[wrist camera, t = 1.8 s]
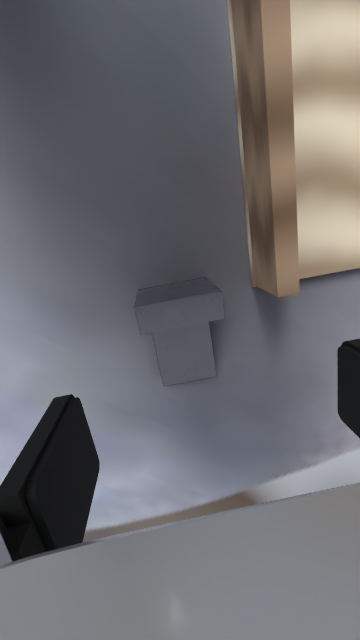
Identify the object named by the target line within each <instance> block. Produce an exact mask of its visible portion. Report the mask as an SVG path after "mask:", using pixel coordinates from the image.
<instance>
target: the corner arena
mask: <svg viewBox="0 0 360 640" xmlns="http://www.w3.org/2000/svg"><path fill="white" fill-rule="evenodd" d="M227 6H228V18H229V29H230V41H231V52H232V64H233V75H234V87H235V98H236V110H237V121H238V133H239V144H240V156H241V167H242V179H243V191H244V202H245V214H246V225H247V237H248V248H249V260H250V271H251V283H252V286H253V287H259V288H261V289H263V290H265V291H266V292H268V293H270V294H272V295H274V296H276V297H278V298H279V297H284V296H290V295H295V294H300V289H299V279H302V278H308V277H313V276H319V275H324V274H329V273H335V272H340V271H345V270H351V269H356V268H360V0H227Z"/></svg>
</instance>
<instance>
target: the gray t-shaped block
mask: <svg viewBox="0 0 360 640" xmlns="http://www.w3.org/2000/svg"><path fill="white" fill-rule="evenodd" d="M134 308H135V312H136V317H137V321H138V325H139V330H140V334H141V335H142V334H147V333H152V334H153V339H154V344H155V349H156V353H157V358H158V363H159V368H160V372H161V377H162V382H163V386H168V385H173V384H178V383H183V382H188V381H193V380H198V379H204V378H209V377H214V376H216V369H215V362H214V355H213V347H212V340H211V333H210V326H209V322H210V321H216V320H221V319H225V314H224V306H223V298H222V291H221V290H220V289H219V288H218V287H216V286H215V285H214V284H213V283H212V282H211V281H210V280H209V279H207V278H206V277H204V278H198V279H193V280H187V281H182V282H176V283H171V284H166V285H160V286H155V287H149V288H144V289H138V293H137V298H136V302H135V307H134Z"/></svg>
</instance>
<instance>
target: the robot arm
mask: <svg viewBox="0 0 360 640" xmlns="http://www.w3.org/2000/svg"><path fill="white" fill-rule="evenodd" d="M338 414H339V416H340V418H341V420H342V421H343V422H344V423H345V424H346V425H347V426H348V427H349V428H350V429H351V430H352V431H353V432H354V433H355V434H356V435H357V436H358V437H359V438H360V339H355V340H350V341H345V342H343V343H342V345H341V346H340V347H339V348H338ZM98 473H99V458H98V455H97V452H96V449H95V445H94V442H93V439H92V436H91V433H90V429H89V426H88V423H87V420H86V417H85V413H84V410H83V407H82V404H81V401H80V399H79V398H78V397H77V398H75V397H74V396H73V395H72V394H71V395H66V396H61V397H56V398H54V399H53V401H52V402H51V404H50V405H49V407H48V409H47V410H46V412H45V414H44V415H43V417H42V419H41V420H40V422H39V423H38V425H37V427H36V428H35V430H34V432H33V433H32V435H31V437H30V438H29V440H28V441H27V443H26V445H25V446H24V448H23V450H22V451H21V453H20V455H19V456H18V458H17V459H16V461H15V463H14V464H13V466H12V468H11V469H10V471H9V473H8V474H7V476H6V477H5V479H4V481H3V482H2V484H1V486H0V640H360V483H356V484H351V485H346V486H341V487H337V488H332V489H327V490H323V491H319V492H313V493H308V494H304V495H299V496H294V497H289V498H285V499H280V500H275V501H270V502H266V503H261V504H256V505H252V506H247V507H242V508H237V509H233V510H228V511H223V512H219V513H214V514H210V515H205V516H201V517H196V518H191V519H187V520H182V521H178V522H173V523H168V524H164V525H159V526H155V527H151V528H146V529H142V530H137V531H132V532H127V533H123V534H118V535H114V536H109V537H105V538H101V539H96V540H91V541H87V542H83V537H84V533H85V529H86V525H87V520H88V516H89V512H90V507H91V503H92V499H93V494H94V490H95V486H96V482H97V477H98ZM82 542H83V543H82Z"/></svg>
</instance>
